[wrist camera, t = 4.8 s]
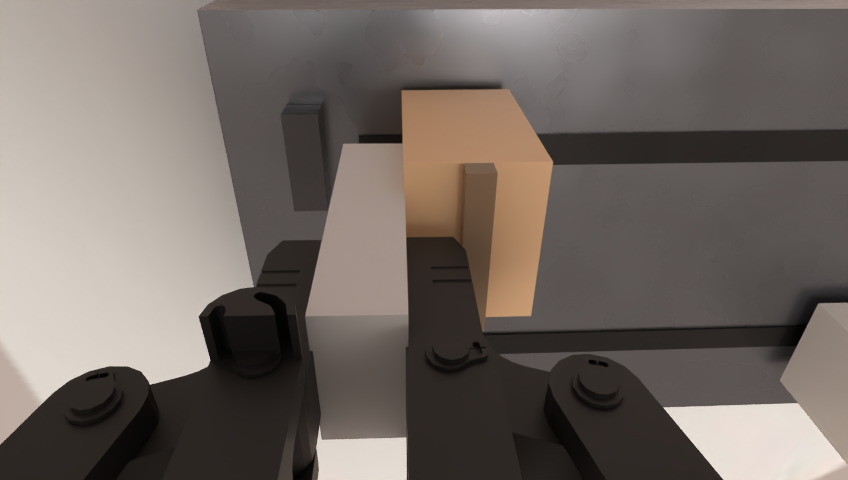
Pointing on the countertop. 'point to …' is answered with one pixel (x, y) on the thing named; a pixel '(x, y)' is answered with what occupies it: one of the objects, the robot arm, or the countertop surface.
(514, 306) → the block
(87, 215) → the countertop surface
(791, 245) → the console
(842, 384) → the fader
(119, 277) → the countertop surface
